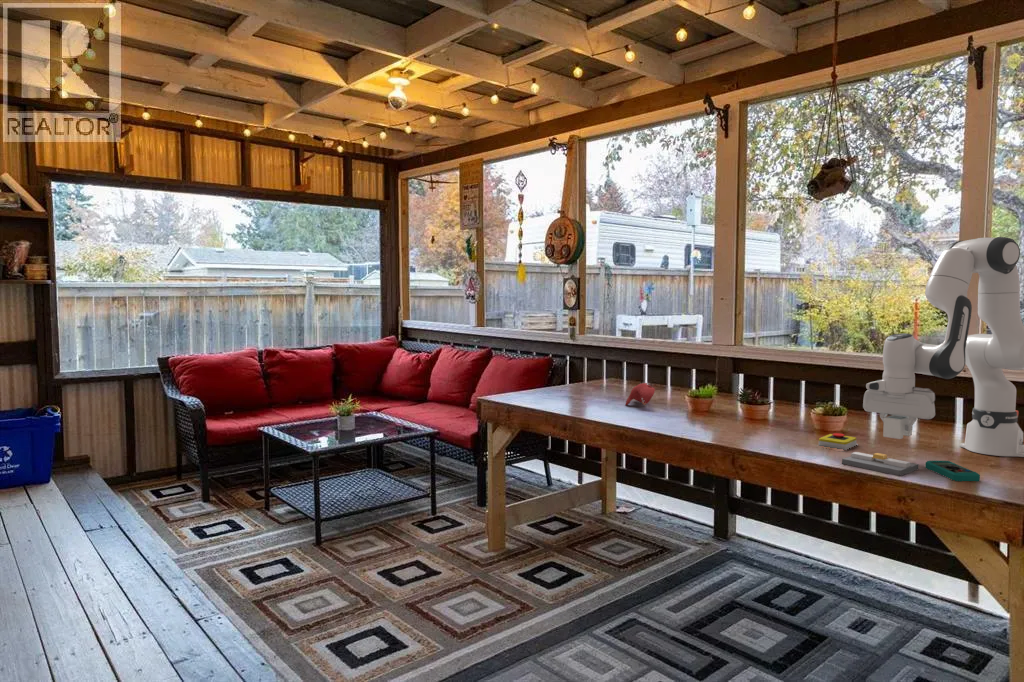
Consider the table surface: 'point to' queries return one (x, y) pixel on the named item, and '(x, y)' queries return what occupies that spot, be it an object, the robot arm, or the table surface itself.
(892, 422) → the block
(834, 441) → the emergency button
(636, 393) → the decorative bird sculpture
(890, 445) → the table surface
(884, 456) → the latch pin
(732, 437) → the table surface
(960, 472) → the digital multimeter
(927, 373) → the robot arm
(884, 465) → the rail board
